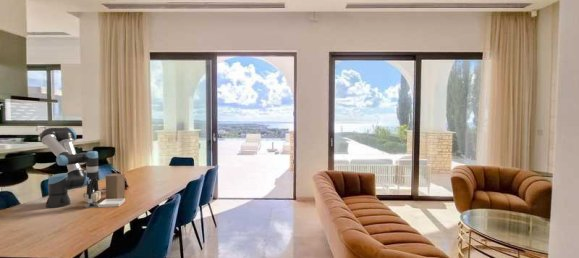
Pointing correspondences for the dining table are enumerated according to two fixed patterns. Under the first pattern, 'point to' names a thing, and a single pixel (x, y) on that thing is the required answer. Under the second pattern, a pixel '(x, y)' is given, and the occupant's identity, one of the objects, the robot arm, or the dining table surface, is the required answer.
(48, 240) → the dining table surface
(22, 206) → the dining table surface
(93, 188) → the grey lever faucet
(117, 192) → the wooden block
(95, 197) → the collar
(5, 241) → the dining table surface
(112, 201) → the tray
